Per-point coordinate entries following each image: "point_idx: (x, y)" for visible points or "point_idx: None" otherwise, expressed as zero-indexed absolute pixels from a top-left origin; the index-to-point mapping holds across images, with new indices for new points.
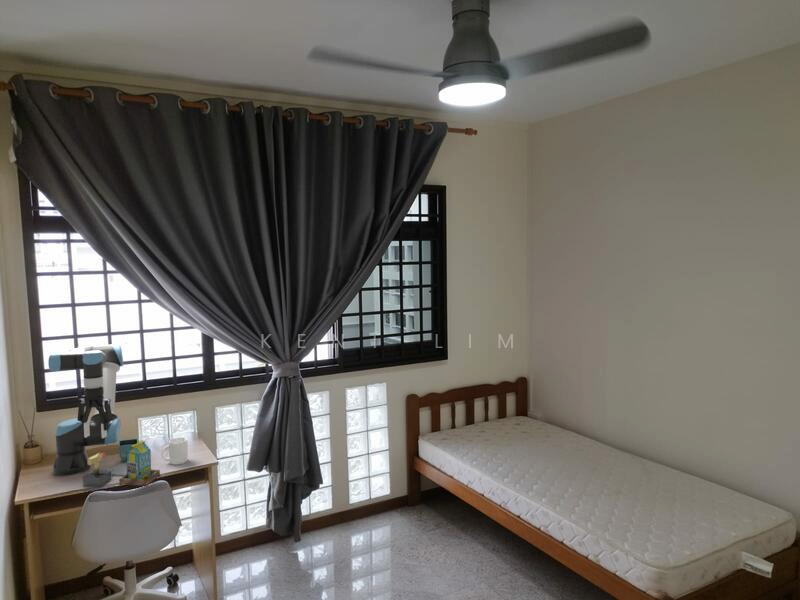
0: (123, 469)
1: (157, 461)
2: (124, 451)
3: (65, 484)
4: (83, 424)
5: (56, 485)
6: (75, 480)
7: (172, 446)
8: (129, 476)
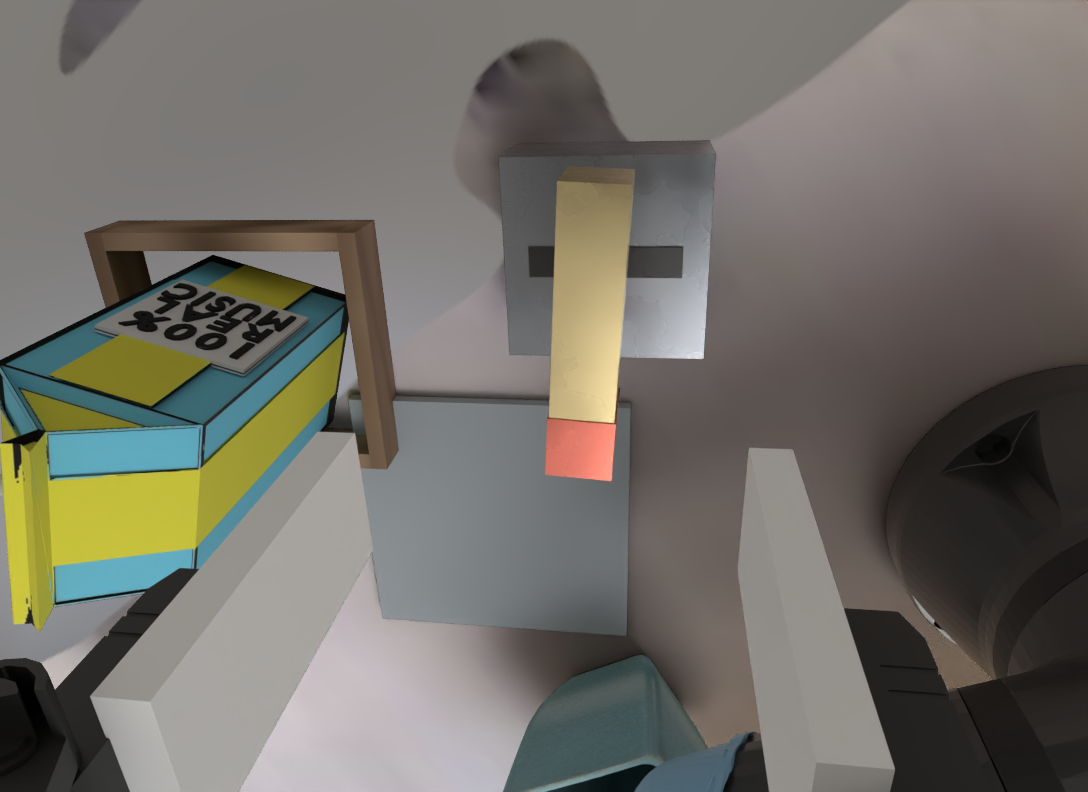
0: (529, 504)
1: (378, 665)
2: (612, 719)
3: (931, 155)
4: (921, 751)
5: (1026, 116)
6: (872, 264)
7: None
8: (309, 309)
